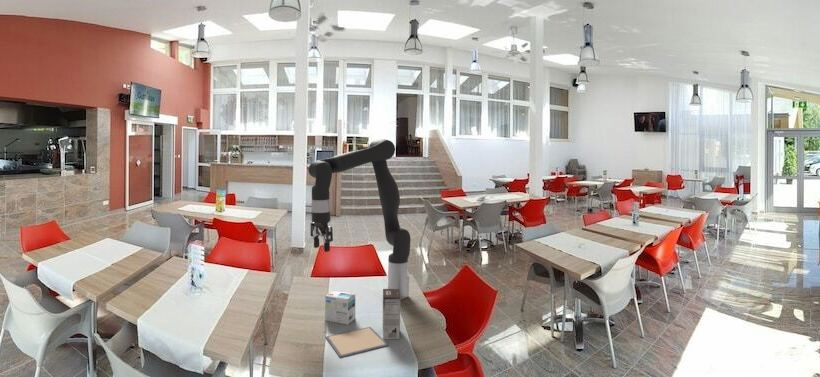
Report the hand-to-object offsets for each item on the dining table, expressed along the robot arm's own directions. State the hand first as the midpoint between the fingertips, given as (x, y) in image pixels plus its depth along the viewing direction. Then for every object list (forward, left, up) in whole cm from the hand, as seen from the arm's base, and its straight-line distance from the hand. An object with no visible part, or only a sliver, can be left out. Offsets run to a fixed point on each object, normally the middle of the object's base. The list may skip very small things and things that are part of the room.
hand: (321, 249), depth 161 cm
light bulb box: (-6, +7, -29) cm, 30 cm away
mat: (-5, +27, -28) cm, 40 cm away
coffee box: (-19, +27, -29) cm, 44 cm away
